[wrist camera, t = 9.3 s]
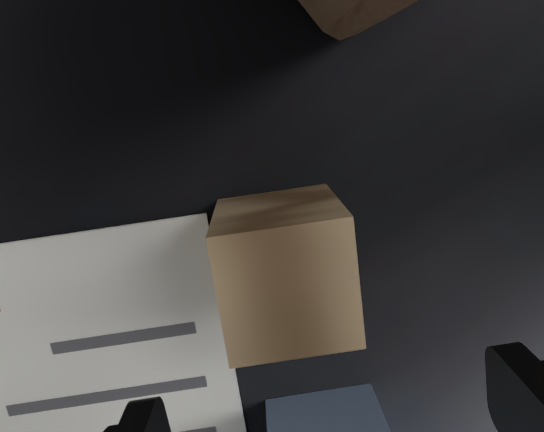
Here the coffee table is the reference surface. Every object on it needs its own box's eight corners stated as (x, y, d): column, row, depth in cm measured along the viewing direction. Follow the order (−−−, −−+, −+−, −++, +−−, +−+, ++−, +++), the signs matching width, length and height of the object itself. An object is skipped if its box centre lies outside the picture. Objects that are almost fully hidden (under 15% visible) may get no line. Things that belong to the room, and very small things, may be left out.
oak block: (325, 183, 22) (353, 216, 16) (337, 283, 23) (366, 348, 17) (217, 199, 21) (205, 238, 16) (234, 298, 23) (229, 368, 17)
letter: (206, 212, 22) (206, 214, 21) (263, 522, 26) (263, 526, 26) (-98, 257, 21) (-102, 259, 21) (13, 560, 26) (11, 565, 26)
